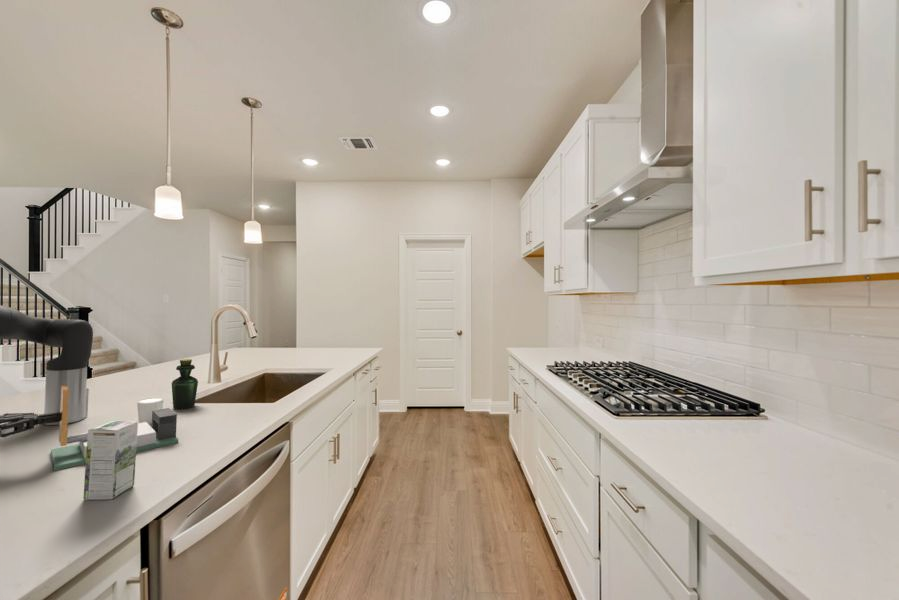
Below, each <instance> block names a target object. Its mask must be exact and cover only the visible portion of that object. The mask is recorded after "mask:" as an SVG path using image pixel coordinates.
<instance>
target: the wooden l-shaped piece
mask: <svg viewBox="0 0 899 600" xmlns="http://www.w3.org/2000/svg"><path fill="white" fill-rule="evenodd" d="M68 405H69V389H68V387H67V386H61V407H60V412H61V421H60V424H59V430H58V431H59V433H58V434H59V435H58V442H59V445H60V447H66V446H68V444H69V445H70V444H73V443H79V442H80V441H85V440H87V436H88V432H86V433H87V434H82V433H80V434H81V435H80V434H77V435H70V436H68V424H69V423H68Z"/></svg>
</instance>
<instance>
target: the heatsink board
mask: <svg viewBox="0 0 899 600" xmlns="http://www.w3.org/2000/svg"><path fill="white" fill-rule="evenodd" d="M177 419H178V414H177V413H176V412H175V411H173V410H172V409H171V408H170V407H168V408H167V407H166V408H162V409H160V410H154V411H152V423H151V424H148V423H147V422H143V423H139V422H138V430H137V446H136V453H138V452H143V451H146V450H151V449H155V448H156V449H157V448H160V447H165V446H169V445H174V444H178V443H179V438H178V437H177V423H178V422H177ZM87 433H88V432H83V433H79V435H81V434H87ZM86 451H87V440H85V441H80V442H78V443H77V444H74V445H73V444H72V445H65V446H60V447H56V448H53V449H52V448H51V450H50V453H51V455H50V456H51V460H52V463H53V464H52V465H53V469H54V471H58V470H59V471H60V470H63V469H68V468H72V467H76V466H81V465H86Z"/></svg>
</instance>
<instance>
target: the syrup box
mask: <svg viewBox="0 0 899 600" xmlns="http://www.w3.org/2000/svg"><path fill="white" fill-rule="evenodd" d="M138 423H139V421H132V420H112V421H108V422H107V423H104V424H101V425H99V426H96V427H93V428H91V429H88V431H87V433H88V436H87V451H86V464H85V469H84V470H85V471H84V482H83V483H84V485H83V486H84V487H83V500H84V501H85V500H86V501H90V500H91V501H92V500H93V501H100V500H101V501H102V500H103V501H105V500H114V499H115V498H117V497H118V496H120V495H122V494H123V493H124V492H126V491H128V490H129V489H131V488H132V487H134V486H135V477H136V476H135V475H136V460H137V452H136V446H137V430H138Z"/></svg>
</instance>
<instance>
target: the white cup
mask: <svg viewBox="0 0 899 600" xmlns="http://www.w3.org/2000/svg"><path fill="white" fill-rule="evenodd" d="M164 399H165V398H162V397H153V398H152V397H150V398H145V399H141V400H137V402H136V404H137V418H138V423H143V422H147V423H148V424H149V425H151V424H152V411H154V410H160V409H163V407H164Z"/></svg>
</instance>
